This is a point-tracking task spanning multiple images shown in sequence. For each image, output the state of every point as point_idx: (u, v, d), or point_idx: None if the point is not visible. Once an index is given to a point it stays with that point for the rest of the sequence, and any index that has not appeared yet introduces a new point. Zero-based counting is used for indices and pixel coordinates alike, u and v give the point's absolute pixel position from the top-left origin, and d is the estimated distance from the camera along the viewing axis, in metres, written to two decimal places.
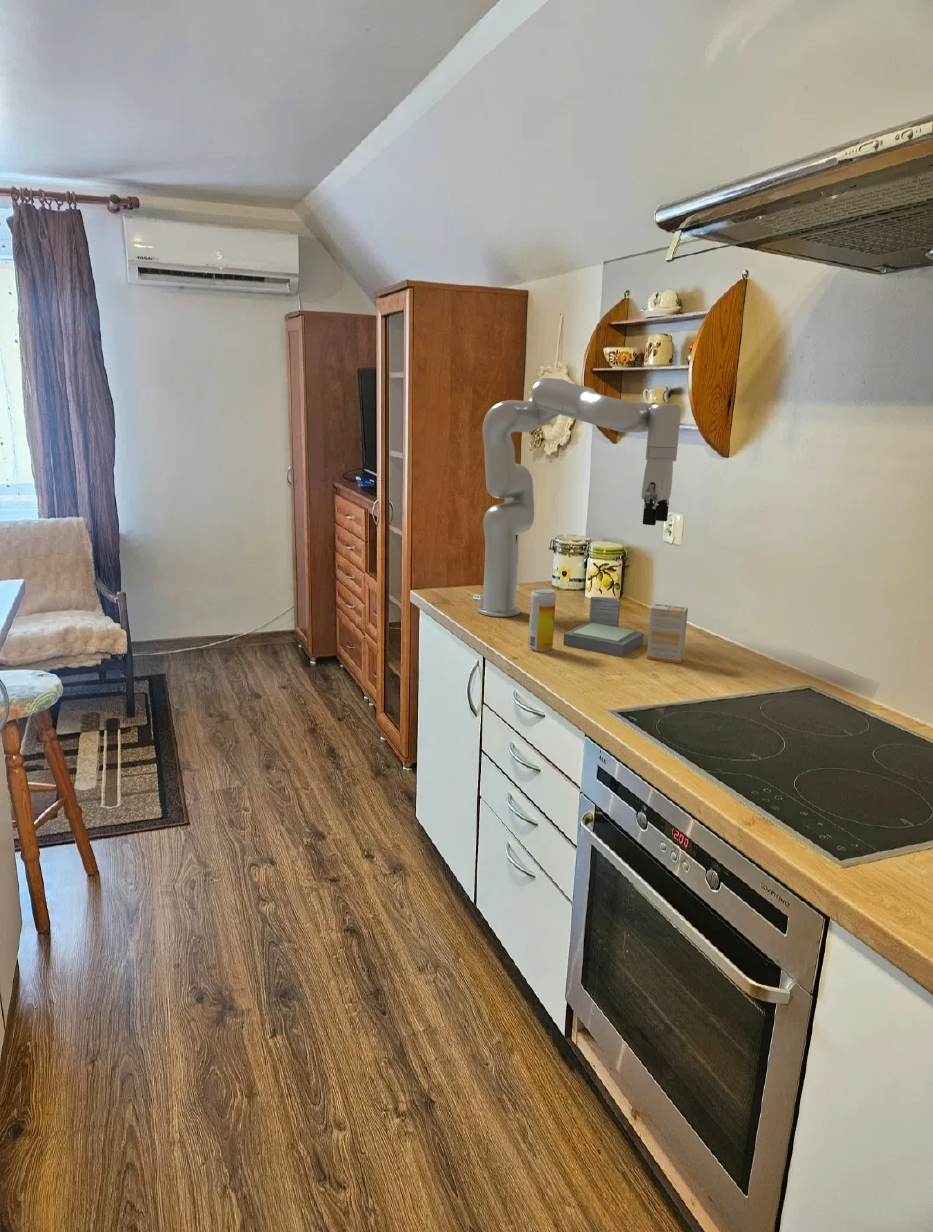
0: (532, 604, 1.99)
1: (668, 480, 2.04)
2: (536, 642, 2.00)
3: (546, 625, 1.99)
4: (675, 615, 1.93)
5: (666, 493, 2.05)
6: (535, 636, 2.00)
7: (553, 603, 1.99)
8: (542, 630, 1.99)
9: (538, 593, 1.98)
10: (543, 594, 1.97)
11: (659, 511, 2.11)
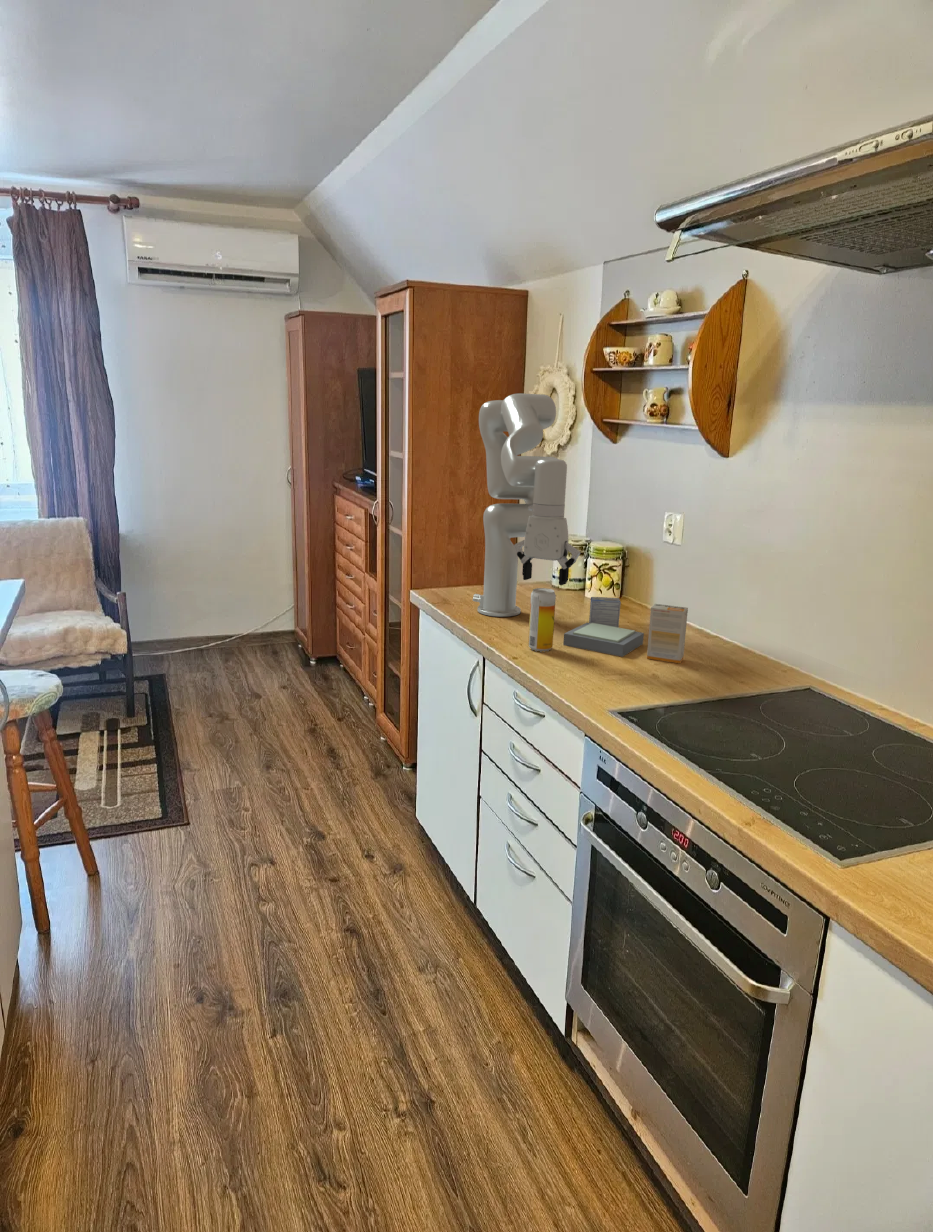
0: (532, 604, 1.99)
1: None
2: (536, 642, 2.00)
3: (546, 625, 1.99)
4: (675, 615, 1.93)
5: None
6: (535, 636, 2.00)
7: (553, 603, 1.99)
8: (542, 630, 1.99)
9: (538, 593, 1.98)
10: (543, 594, 1.97)
11: (528, 569, 2.00)
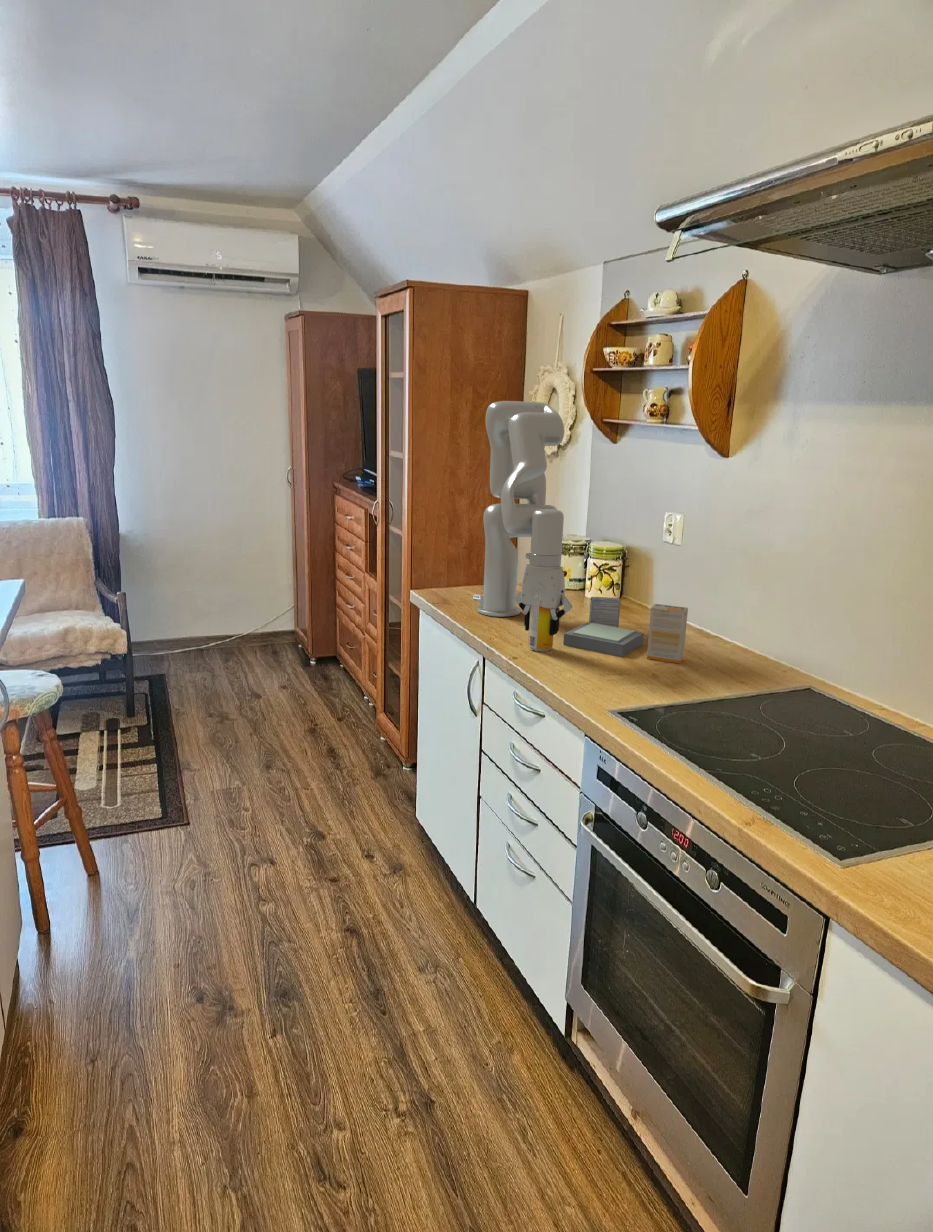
0: None
1: None
2: (536, 642, 2.00)
3: (546, 625, 1.99)
4: (675, 615, 1.93)
5: None
6: (535, 635, 2.00)
7: None
8: (542, 630, 1.99)
9: None
10: None
11: None
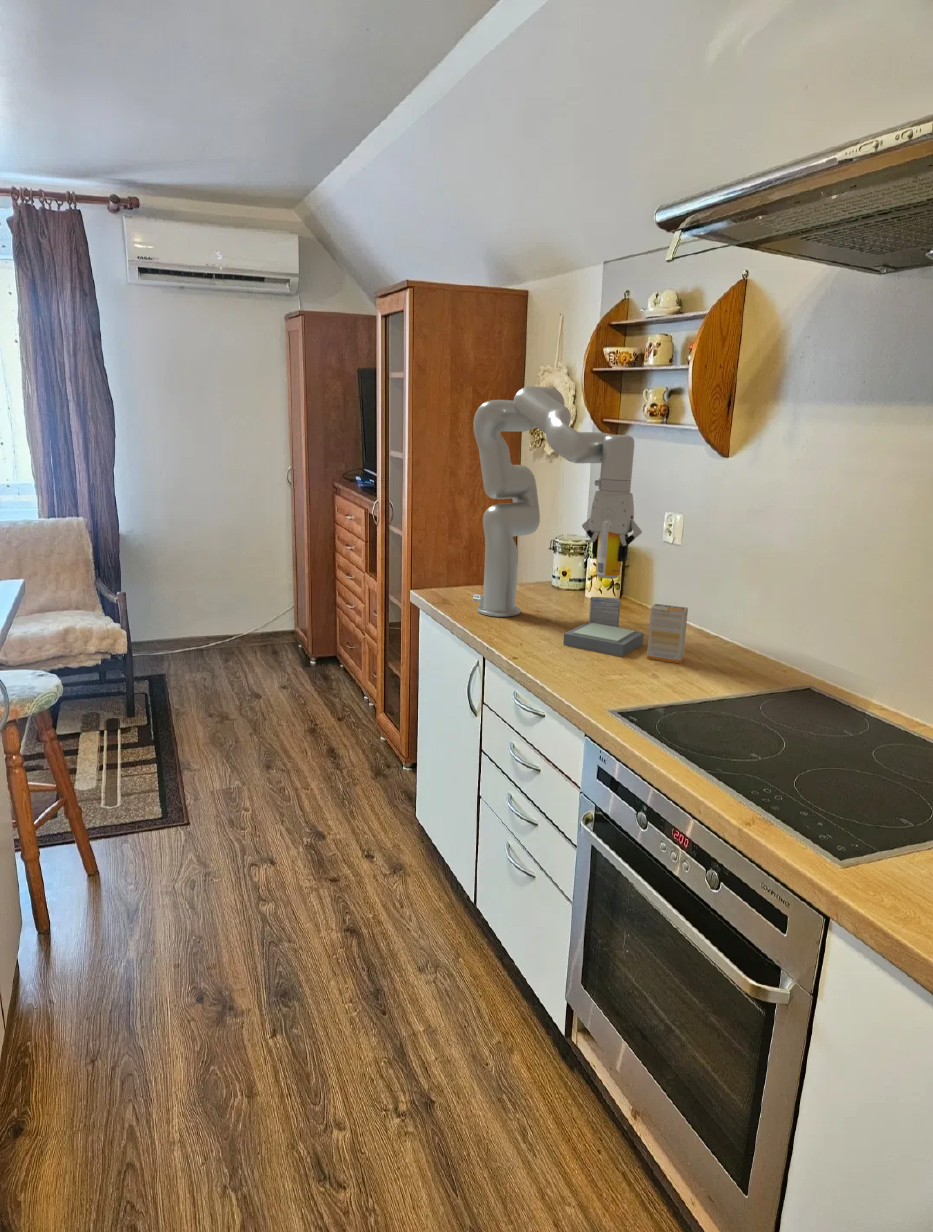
0: None
1: None
2: (604, 568, 2.02)
3: (614, 551, 2.00)
4: (675, 615, 1.93)
5: None
6: (604, 562, 2.01)
7: None
8: (610, 556, 2.01)
9: None
10: None
11: None
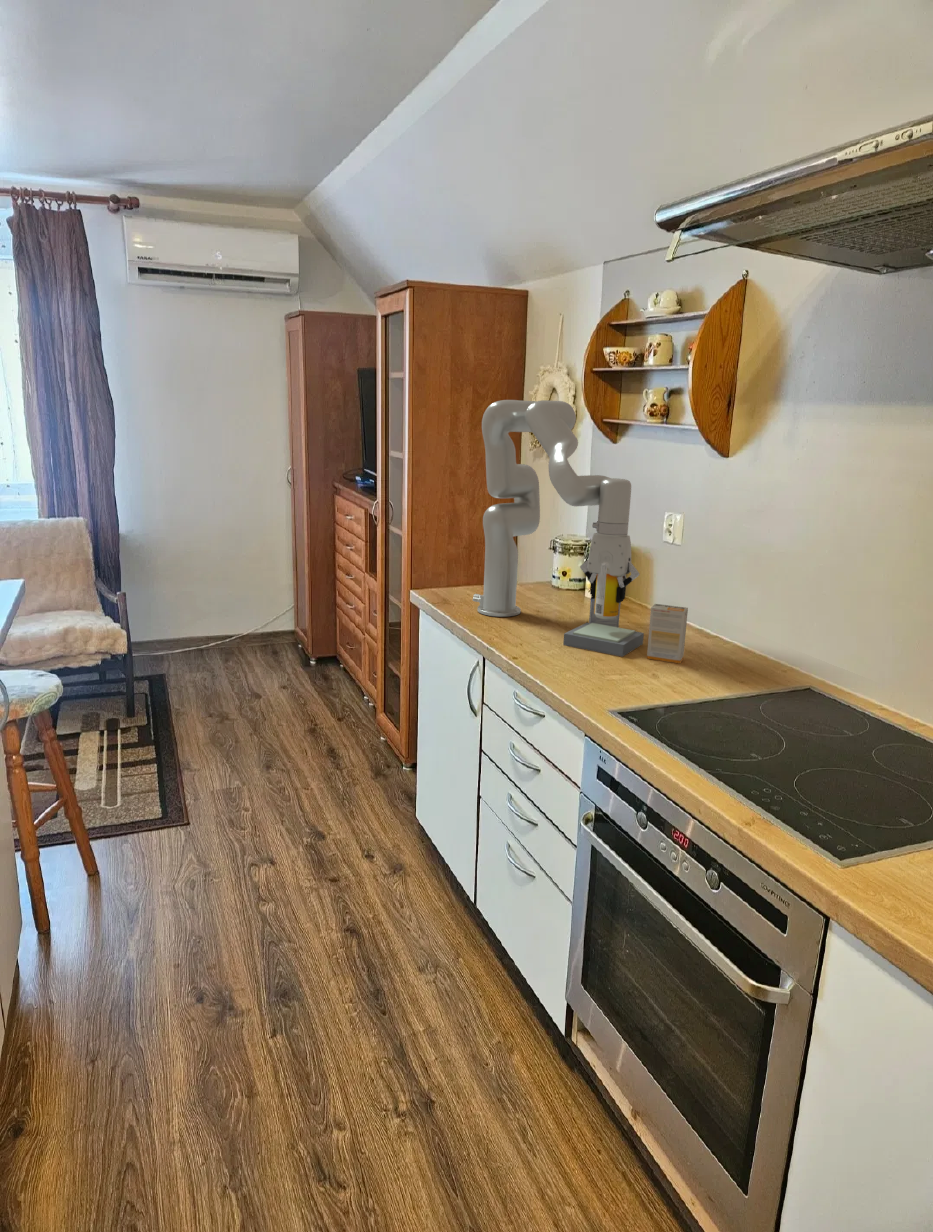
0: None
1: None
2: (603, 609, 2.04)
3: (612, 593, 2.03)
4: (675, 615, 1.93)
5: None
6: (602, 603, 2.04)
7: None
8: (608, 597, 2.03)
9: None
10: None
11: None
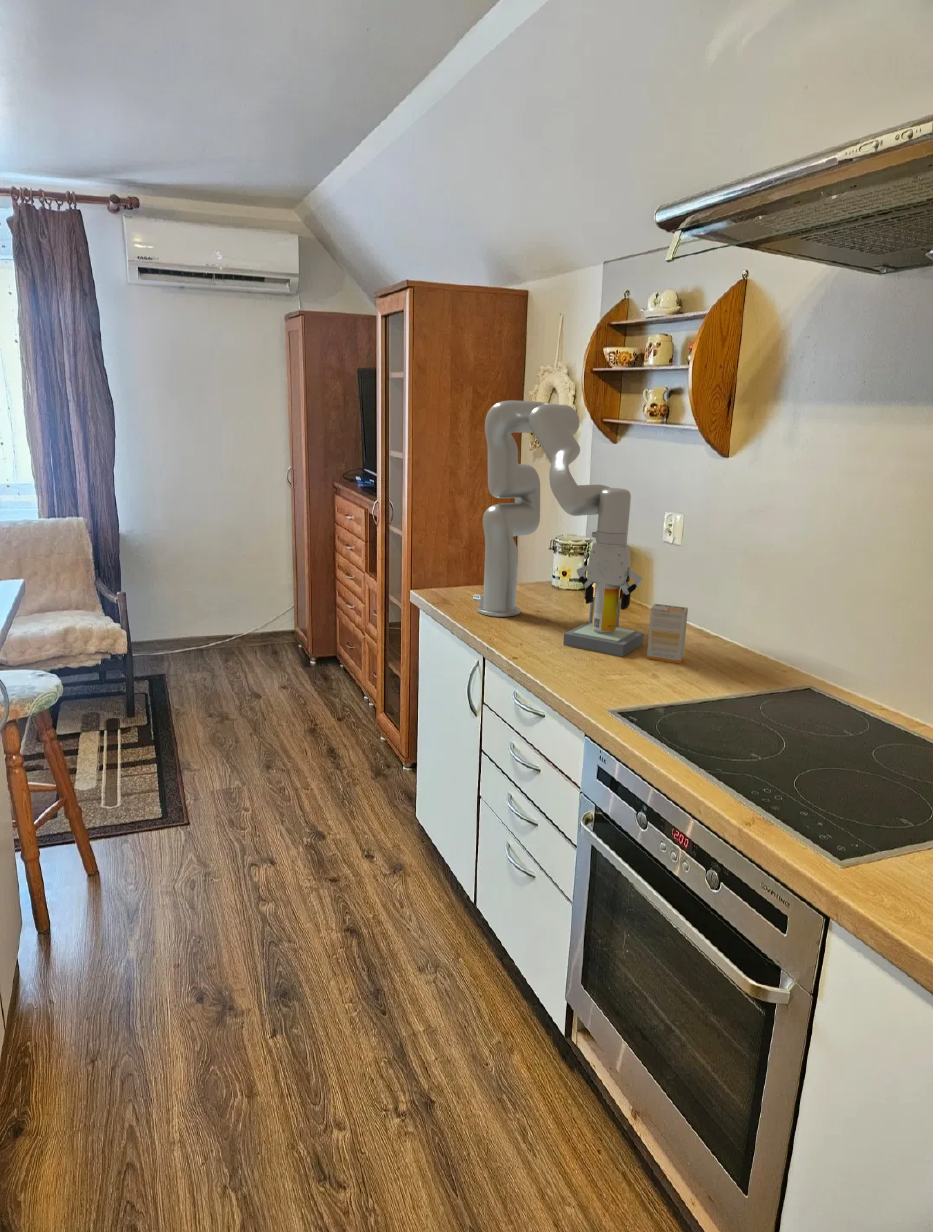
0: (597, 587, 2.04)
1: None
2: (601, 624, 2.05)
3: (611, 608, 2.04)
4: (675, 615, 1.93)
5: None
6: (600, 617, 2.05)
7: (618, 586, 2.04)
8: (606, 612, 2.04)
9: None
10: None
11: (590, 594, 2.08)
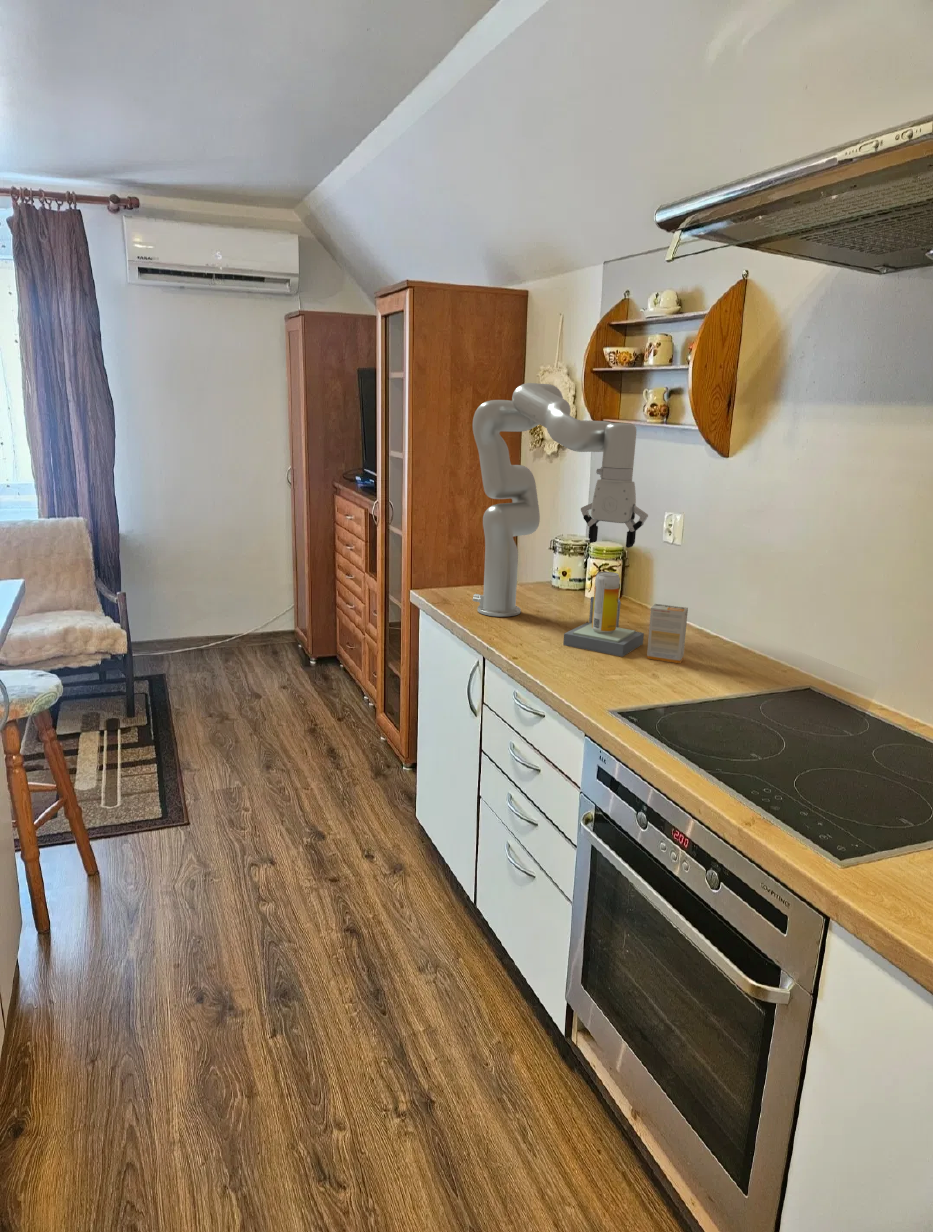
0: (597, 587, 2.04)
1: None
2: (601, 624, 2.05)
3: (610, 608, 2.04)
4: (675, 615, 1.93)
5: None
6: (600, 618, 2.05)
7: (618, 586, 2.04)
8: (606, 612, 2.04)
9: (603, 576, 2.03)
10: (608, 577, 2.02)
11: (594, 532, 2.04)
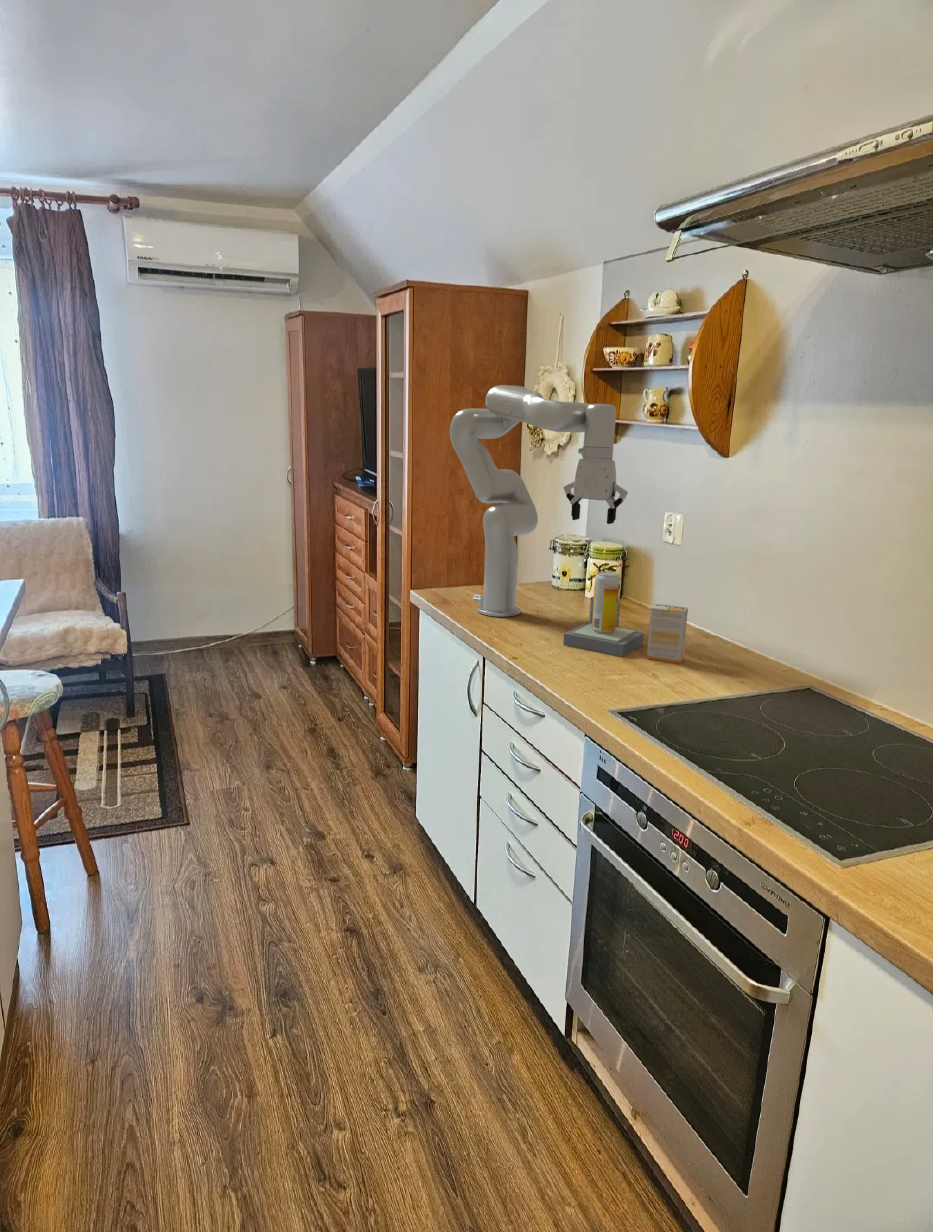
0: (597, 587, 2.04)
1: None
2: (601, 624, 2.05)
3: (610, 608, 2.04)
4: (675, 615, 1.93)
5: None
6: (600, 618, 2.05)
7: (618, 585, 2.04)
8: (606, 612, 2.04)
9: (603, 576, 2.03)
10: (608, 577, 2.03)
11: (577, 510, 2.12)
